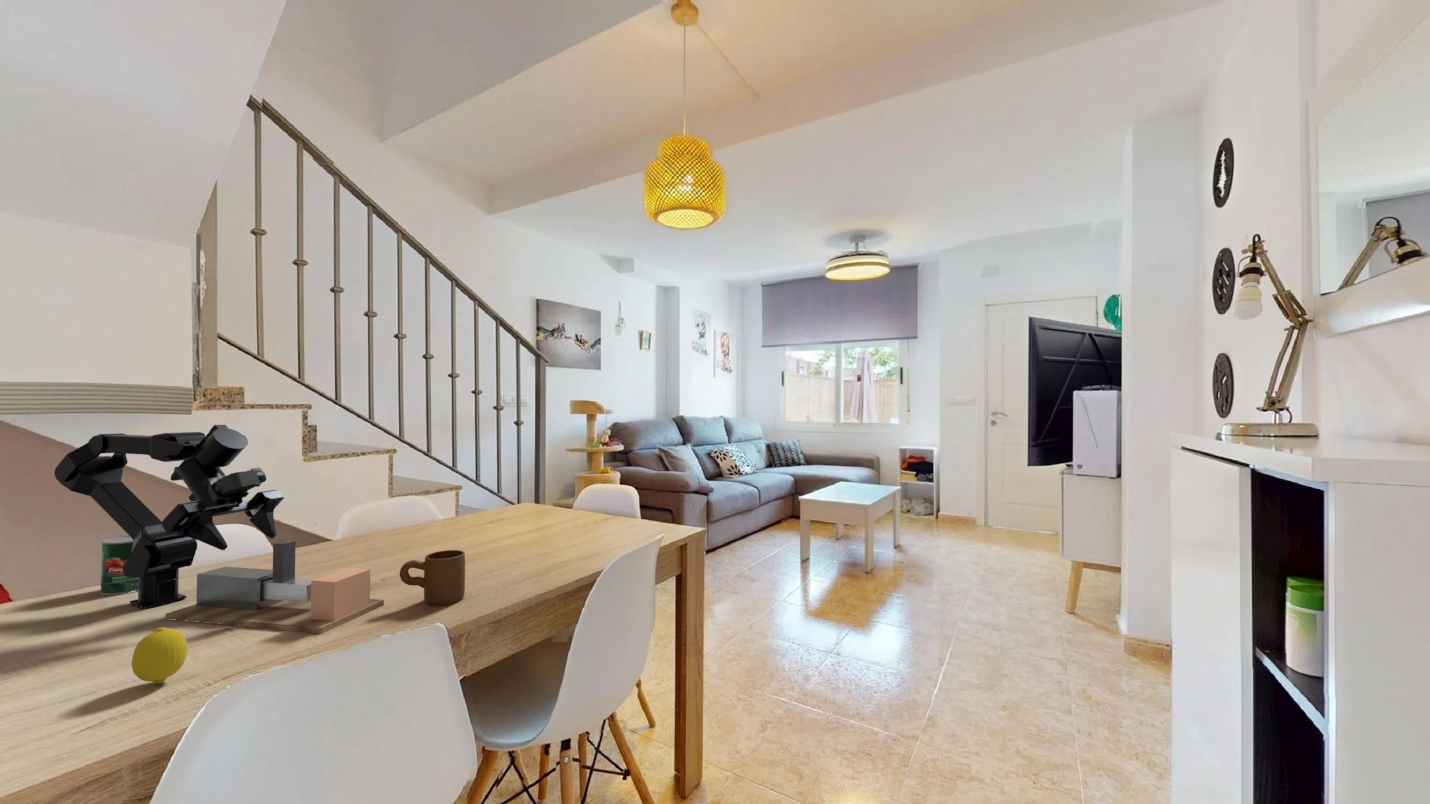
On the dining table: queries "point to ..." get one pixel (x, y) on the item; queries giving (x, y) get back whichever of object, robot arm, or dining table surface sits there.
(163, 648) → the lemon
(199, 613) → the base board
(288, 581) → the tube
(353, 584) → the socket block
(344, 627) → the dining table surface
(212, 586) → the sleeve
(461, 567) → the mug
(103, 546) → the canned tomato
